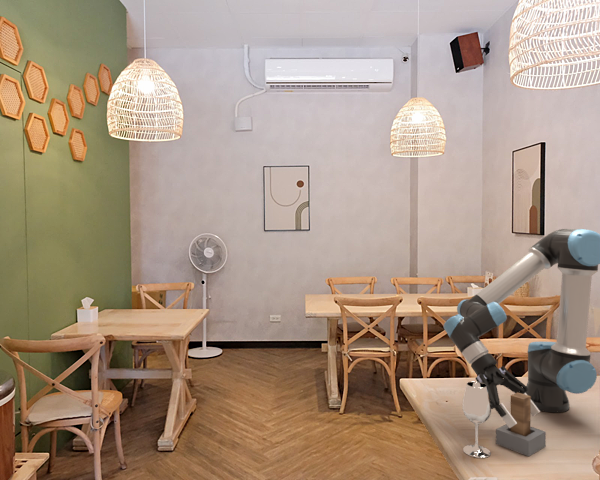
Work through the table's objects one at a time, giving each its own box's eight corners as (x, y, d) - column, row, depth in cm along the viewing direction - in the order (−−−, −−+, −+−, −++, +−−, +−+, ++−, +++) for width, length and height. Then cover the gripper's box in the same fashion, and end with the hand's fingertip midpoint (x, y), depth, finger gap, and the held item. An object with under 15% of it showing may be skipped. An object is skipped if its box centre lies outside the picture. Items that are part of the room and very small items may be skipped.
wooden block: (517, 437, 143) (517, 392, 143) (530, 442, 140) (530, 396, 140) (510, 441, 141) (510, 395, 140) (523, 445, 138) (523, 399, 137)
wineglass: (458, 446, 140) (458, 380, 139) (483, 444, 141) (483, 379, 140) (469, 459, 132) (469, 389, 132) (496, 457, 133) (496, 388, 132)
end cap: (513, 434, 147) (513, 420, 147) (545, 446, 139) (545, 431, 139) (496, 443, 141) (496, 429, 141) (528, 456, 133) (528, 441, 133)
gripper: (493, 358, 160) (536, 415, 149) (449, 372, 145) (494, 437, 134) (508, 345, 156) (554, 403, 144) (464, 359, 141) (512, 425, 129)
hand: (525, 419), depth 139 cm, fingers open, 13 cm apart
